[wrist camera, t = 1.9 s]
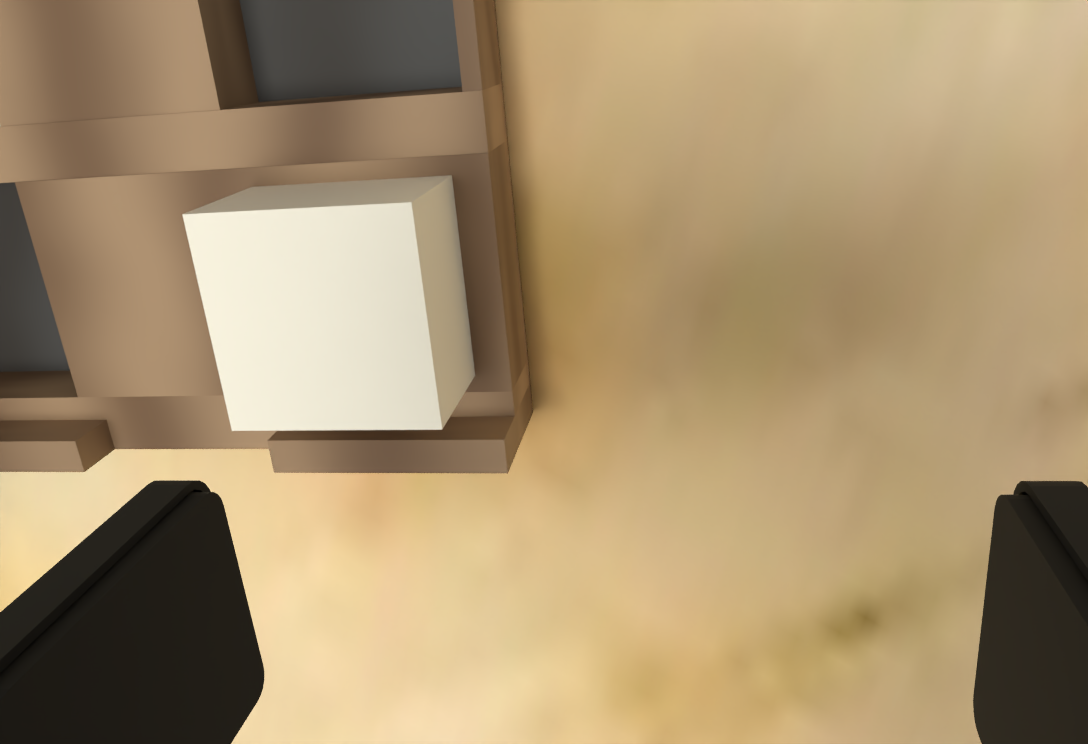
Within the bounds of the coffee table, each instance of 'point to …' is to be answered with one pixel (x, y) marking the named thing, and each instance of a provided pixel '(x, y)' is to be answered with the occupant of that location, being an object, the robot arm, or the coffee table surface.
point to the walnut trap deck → (215, 173)
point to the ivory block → (336, 304)
